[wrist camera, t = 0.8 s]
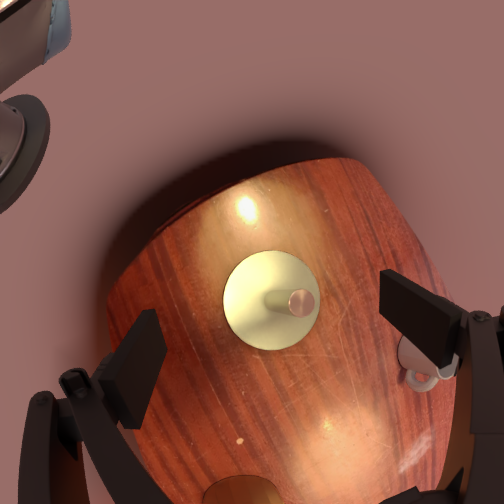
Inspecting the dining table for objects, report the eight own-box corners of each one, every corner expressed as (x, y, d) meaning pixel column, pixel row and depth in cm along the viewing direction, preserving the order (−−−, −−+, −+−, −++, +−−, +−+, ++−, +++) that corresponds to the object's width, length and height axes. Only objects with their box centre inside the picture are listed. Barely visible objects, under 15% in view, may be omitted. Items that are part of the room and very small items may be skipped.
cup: (431, 333, 39) (469, 337, 31) (410, 388, 37) (446, 400, 29) (406, 320, 38) (447, 323, 30) (382, 379, 36) (421, 393, 28)
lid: (216, 256, 34) (226, 241, 24) (310, 247, 37) (349, 231, 27) (229, 355, 33) (243, 380, 23) (320, 338, 35) (363, 352, 25)
